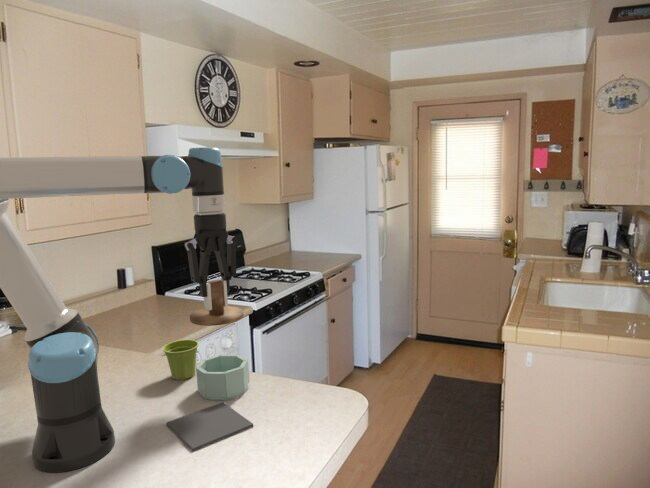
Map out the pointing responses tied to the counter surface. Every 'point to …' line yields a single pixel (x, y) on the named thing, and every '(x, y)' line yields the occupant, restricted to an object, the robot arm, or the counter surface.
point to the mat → (208, 425)
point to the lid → (216, 309)
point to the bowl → (223, 377)
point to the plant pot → (181, 358)
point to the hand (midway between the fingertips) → (216, 307)
